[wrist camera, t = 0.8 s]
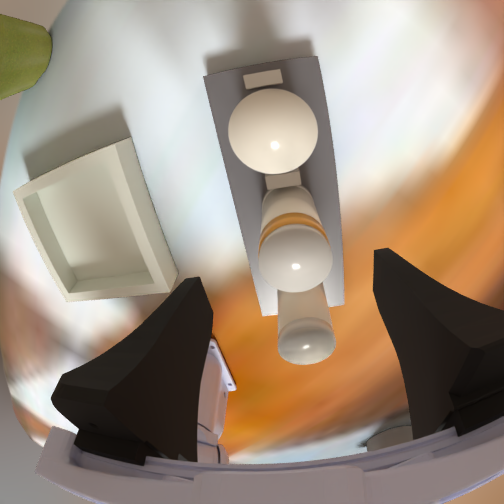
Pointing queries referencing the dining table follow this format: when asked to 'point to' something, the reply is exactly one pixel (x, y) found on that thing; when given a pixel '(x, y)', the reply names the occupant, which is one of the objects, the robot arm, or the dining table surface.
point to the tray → (98, 227)
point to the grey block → (390, 438)
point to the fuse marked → (292, 241)
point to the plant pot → (22, 54)
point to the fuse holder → (257, 183)
